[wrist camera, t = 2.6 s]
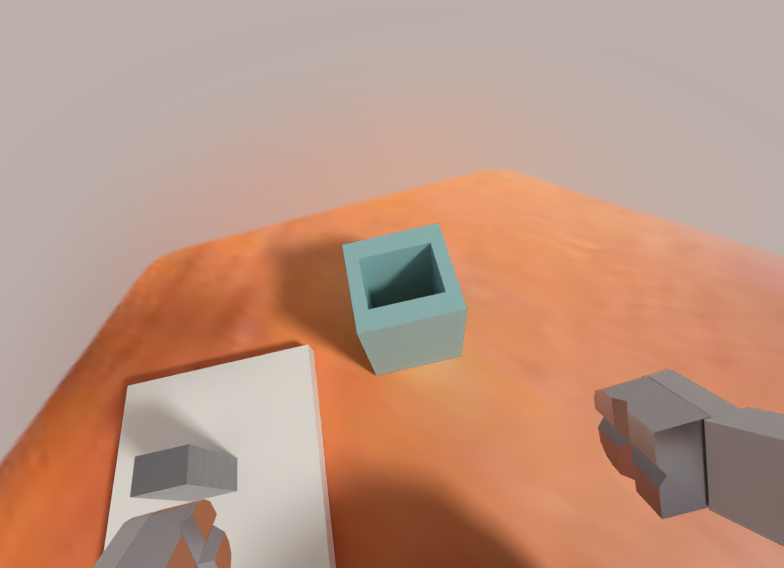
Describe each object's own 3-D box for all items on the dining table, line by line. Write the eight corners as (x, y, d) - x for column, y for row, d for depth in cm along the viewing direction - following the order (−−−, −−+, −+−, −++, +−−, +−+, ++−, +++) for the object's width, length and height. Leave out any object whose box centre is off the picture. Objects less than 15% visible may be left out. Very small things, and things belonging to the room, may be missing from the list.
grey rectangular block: (237, 491, 26) (186, 484, 21) (191, 501, 26) (129, 497, 21) (237, 458, 27) (188, 444, 22) (193, 468, 27) (134, 456, 22)
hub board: (339, 602, 24) (333, 606, 23) (106, 656, 24) (87, 664, 22) (313, 351, 32) (308, 344, 31) (140, 391, 32) (127, 385, 31)
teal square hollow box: (461, 356, 30) (467, 308, 24) (376, 375, 30) (357, 334, 24) (439, 282, 34) (438, 222, 27) (362, 300, 34) (342, 244, 27)
